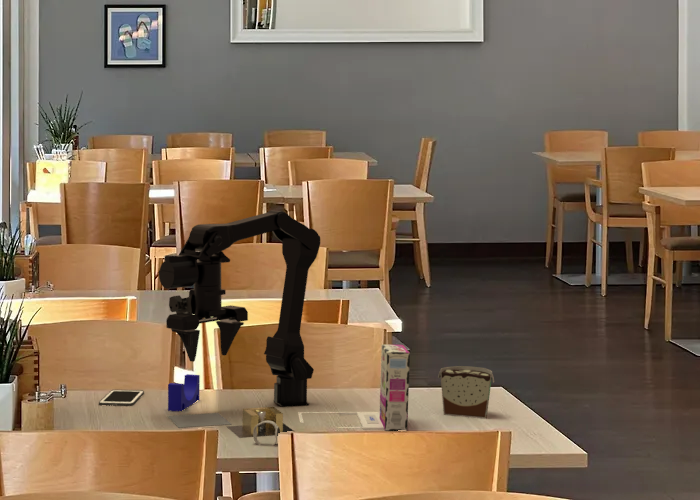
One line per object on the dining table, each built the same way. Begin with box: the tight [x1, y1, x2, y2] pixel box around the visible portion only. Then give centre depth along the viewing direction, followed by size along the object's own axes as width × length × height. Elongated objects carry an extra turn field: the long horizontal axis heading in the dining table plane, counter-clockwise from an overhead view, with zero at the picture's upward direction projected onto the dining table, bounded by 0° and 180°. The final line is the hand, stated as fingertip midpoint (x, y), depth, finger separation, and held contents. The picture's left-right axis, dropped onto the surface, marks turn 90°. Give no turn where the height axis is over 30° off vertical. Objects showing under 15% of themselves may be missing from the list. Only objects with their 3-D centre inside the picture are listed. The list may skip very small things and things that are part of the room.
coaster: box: [167, 412, 233, 429], centre depth 261 cm, size 11×11×1 cm
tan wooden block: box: [241, 406, 284, 435], centre depth 252 cm, size 6×6×4 cm
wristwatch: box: [252, 421, 280, 446], centre depth 242 cm, size 3×5×5 cm, turn 81°
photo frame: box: [297, 411, 385, 431], centre depth 264 cm, size 15×1×18 cm
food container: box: [437, 365, 495, 419], centre depth 273 cm, size 12×6×10 cm, turn 71°
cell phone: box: [98, 389, 145, 407], centre depth 283 cm, size 8×15×1 cm, turn 179°
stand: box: [225, 411, 294, 439], centre depth 253 cm, size 12×10×4 cm
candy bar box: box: [379, 343, 411, 432], centre depth 260 cm, size 11×5×16 cm, turn 5°
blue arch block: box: [167, 373, 201, 412], centre depth 277 cm, size 12×4×6 cm, turn 168°
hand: (208, 358), depth 264 cm, fingers open, 9 cm apart
